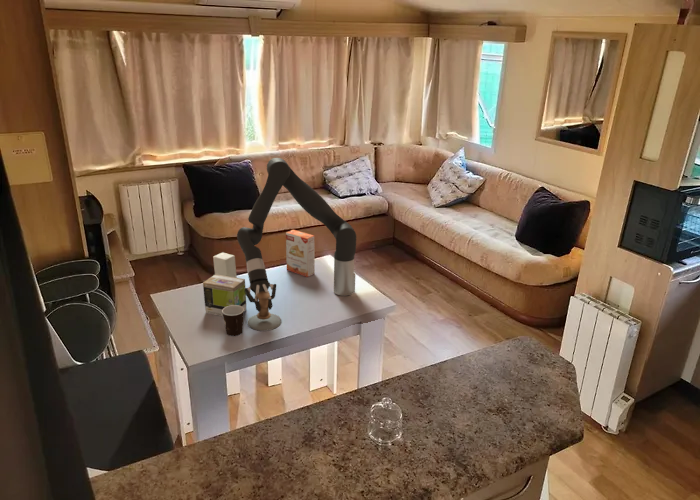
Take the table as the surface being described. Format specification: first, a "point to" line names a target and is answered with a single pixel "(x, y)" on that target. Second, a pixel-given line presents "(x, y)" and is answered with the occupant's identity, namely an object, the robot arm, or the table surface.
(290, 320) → the table surface
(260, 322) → the felt mat
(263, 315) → the wooden turned knob
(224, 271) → the skincare box
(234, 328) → the coffee mug
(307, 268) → the cracker box
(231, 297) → the tea box
